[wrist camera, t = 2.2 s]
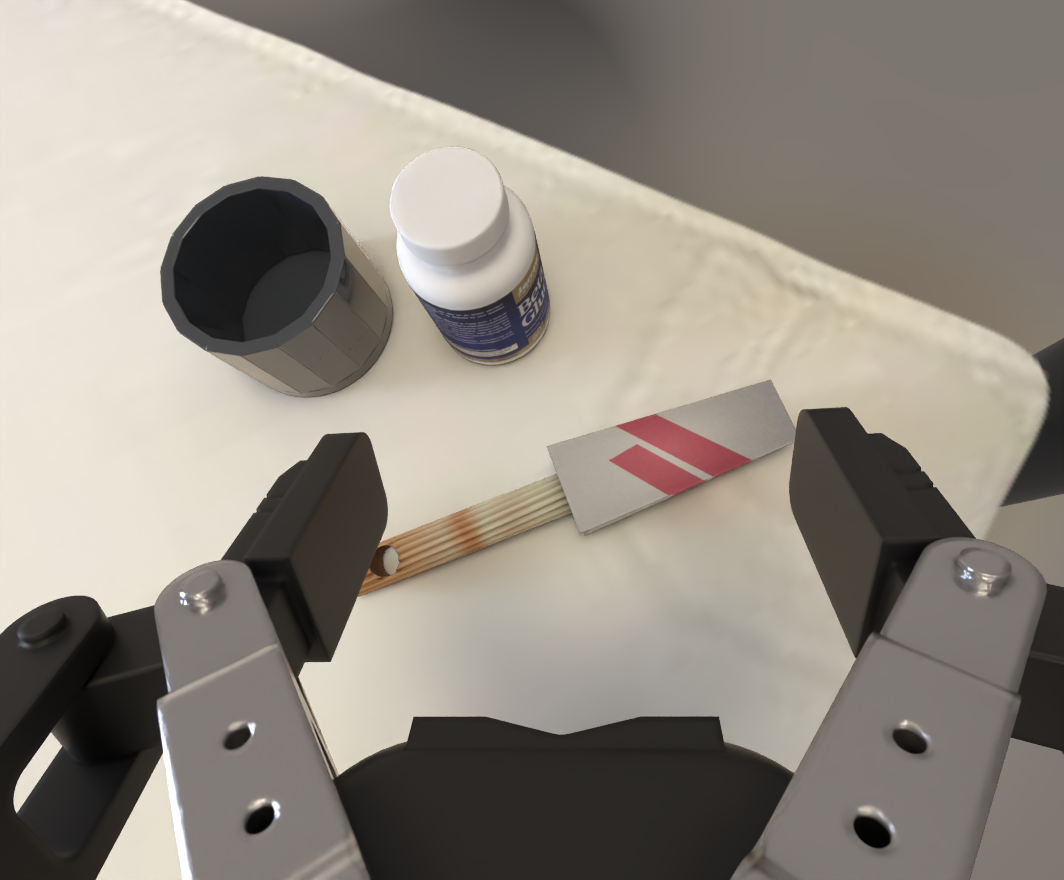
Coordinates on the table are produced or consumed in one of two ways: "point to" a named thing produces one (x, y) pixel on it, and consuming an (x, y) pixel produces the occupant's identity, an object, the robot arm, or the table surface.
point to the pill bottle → (470, 254)
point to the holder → (276, 287)
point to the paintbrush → (606, 477)
